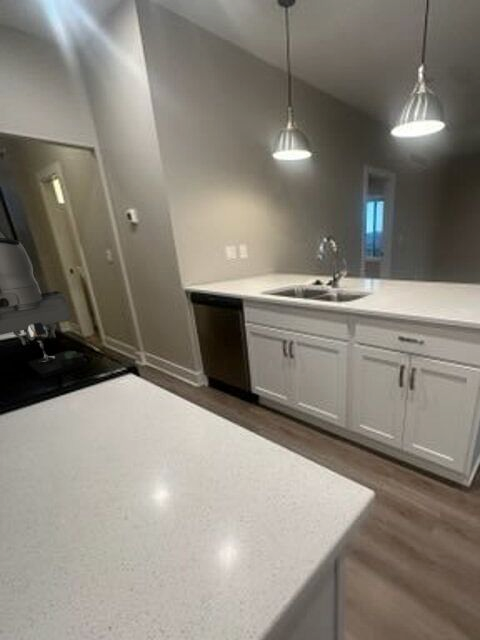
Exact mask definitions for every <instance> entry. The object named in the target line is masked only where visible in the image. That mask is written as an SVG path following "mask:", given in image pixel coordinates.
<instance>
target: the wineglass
mask: <svg viewBox="0 0 480 640" xmlns="http://www.w3.org/2000/svg"><path fill="white" fill-rule="evenodd" d="M48 332H49V329H48V328H47V325H42V324H41V323H36V324H31V325H29V327H28V329H25V330H23V334H24V336H25V338H28V340H29V343H33V344H39V348H40V349H41V351H42V353H43V357H40V358H41V359H39V358H38V359H39V360H38V361H39V362H45V361H49V360H52V359H54V358H55V356H50V355H47V353H46V351H45V346H44V343H43V342H45V341H47V340H48V339H49V333H48Z"/></svg>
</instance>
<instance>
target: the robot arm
mask: <svg viewBox="0 0 480 640" xmlns="http://www.w3.org/2000/svg"><path fill="white" fill-rule="evenodd" d="M33 265H34V264H33V262H32V260H31V257H29V254H28V253H27V251H26V248H25V247H24V245H23V244H22V243H21V242H20V241H18V240H16V239H14V238H10V237H9V236H8V235H7V234H6V233H5V231H4V230H3V229H2V228H1V227H0V336H2V335H6V334H7V335H8V334H12V333H13V335H14V336H16V338H18V339H19V340H20V341H21V344H22V345H23V346H26V345H30V344H31V342H30V341H29V340H28V338H26V337H23V336H21V335H22V331H24V330H25V329H28V327H29V325H31V324H36V323H41V324H42V325H45V326H47V325H48V326H49V327H50V330H49V331H48V333H49V337H48V339H55V338H57V337H56V329H57V324H58V323H62V322H65V321H70V320H71V319H72V314H71V313H72V312H71V311H70V309H69V306H68V304H67V302H68V301H67V298H66V295H65V294H64V293H63V292H60V291H58V290H54V291H51V292H42V291H41V288H40V285H39V283H38V281H37V280H36V278H35V276H34V266H33Z"/></svg>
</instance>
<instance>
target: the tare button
mask: <svg viewBox="0 0 480 640" xmlns="http://www.w3.org/2000/svg"><path fill="white" fill-rule="evenodd" d="M70 351H71V352H67V353H65V354H64V355H65V358H66V359H71V358H75V357H77V356H78V355H77V353H78V352H77V351H76V350H70Z"/></svg>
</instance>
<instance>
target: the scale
mask: <svg viewBox="0 0 480 640" xmlns="http://www.w3.org/2000/svg"><path fill="white" fill-rule="evenodd" d="M71 351H72V350H65V351H61V352H57V353H55V354H50V355H49V356H55V358H54V359H52V360H49V361H45V362H39V361H38V360H39V359H41V358H42V357H39V358H35V359H32V360H29V361H27V364H28V366H29V367H30V368H31V369H33V370H34V371H35V372H36V373H37V374H38V375H39V376H40V377H42V378H43V379H44V378H48V377H51V376H54V375H58V374H61V373H64V372H68V371H71V370H73V369H74V370H75V369H77V368H80V367H84V366H86V365H87V366H88V365H89V361H88V360H87V358H85V355H84V353H82V352H77V355H78V356H77V357H75V358H71V359H66V358H65V355H64V354H65V353H67V352H71Z"/></svg>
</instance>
